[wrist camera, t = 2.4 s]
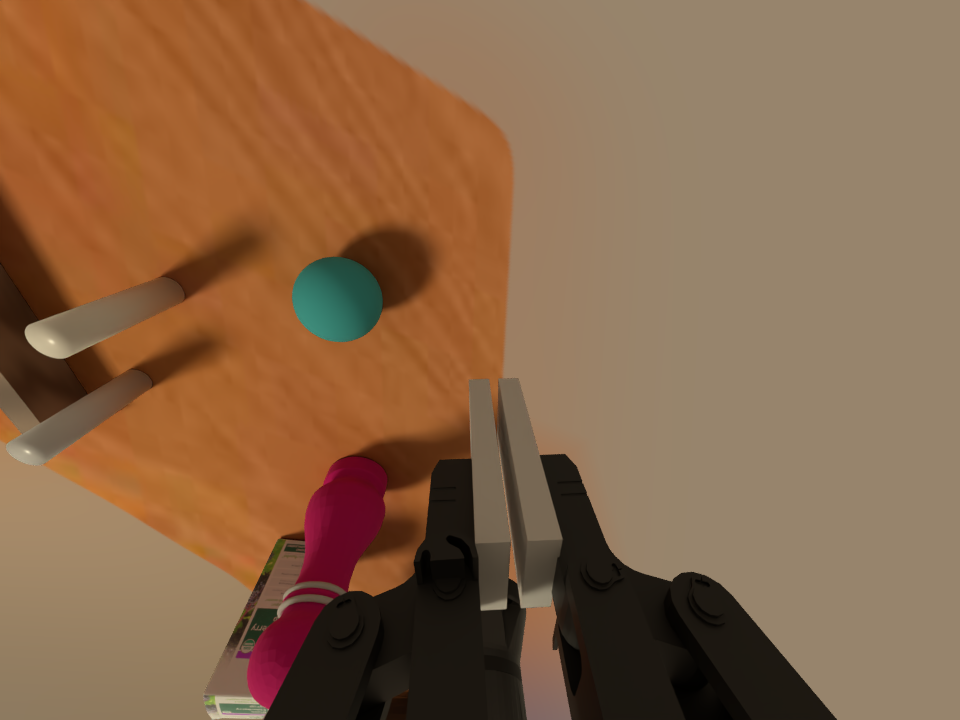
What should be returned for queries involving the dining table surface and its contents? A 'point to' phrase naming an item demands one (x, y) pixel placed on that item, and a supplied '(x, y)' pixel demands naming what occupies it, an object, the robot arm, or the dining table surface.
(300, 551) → the syrup box
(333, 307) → the ball
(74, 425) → the grey pin
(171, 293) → the ivory pin
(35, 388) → the back wall
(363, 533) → the pepper mill
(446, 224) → the dining table surface
